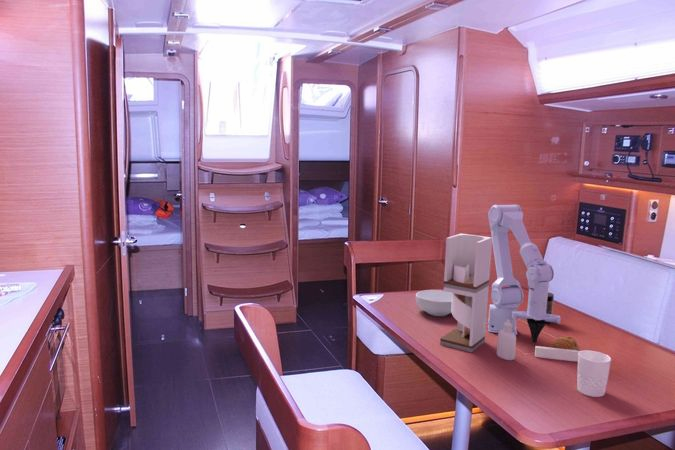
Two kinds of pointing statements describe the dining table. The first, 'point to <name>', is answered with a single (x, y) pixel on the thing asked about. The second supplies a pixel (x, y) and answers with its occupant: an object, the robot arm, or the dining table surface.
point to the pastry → (565, 343)
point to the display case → (467, 288)
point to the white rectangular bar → (556, 353)
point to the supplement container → (549, 304)
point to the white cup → (592, 373)
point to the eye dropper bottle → (506, 342)
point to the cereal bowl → (434, 302)
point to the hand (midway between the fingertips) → (533, 341)
